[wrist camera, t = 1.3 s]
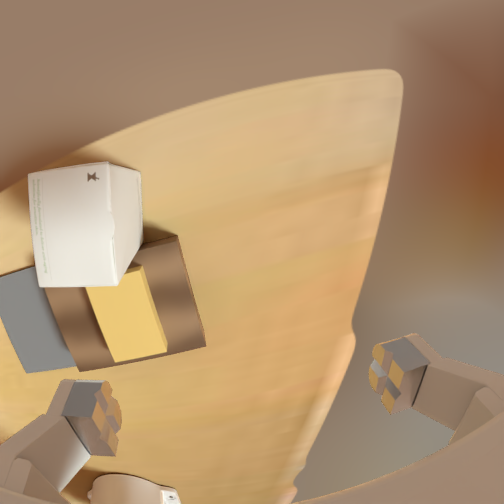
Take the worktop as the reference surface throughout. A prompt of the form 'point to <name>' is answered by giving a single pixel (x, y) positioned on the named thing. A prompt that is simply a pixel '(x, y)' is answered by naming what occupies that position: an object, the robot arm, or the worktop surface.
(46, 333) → the mat
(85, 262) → the skincare box
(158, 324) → the yellow rectangular block
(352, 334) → the worktop surface
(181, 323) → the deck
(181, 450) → the worktop surface
